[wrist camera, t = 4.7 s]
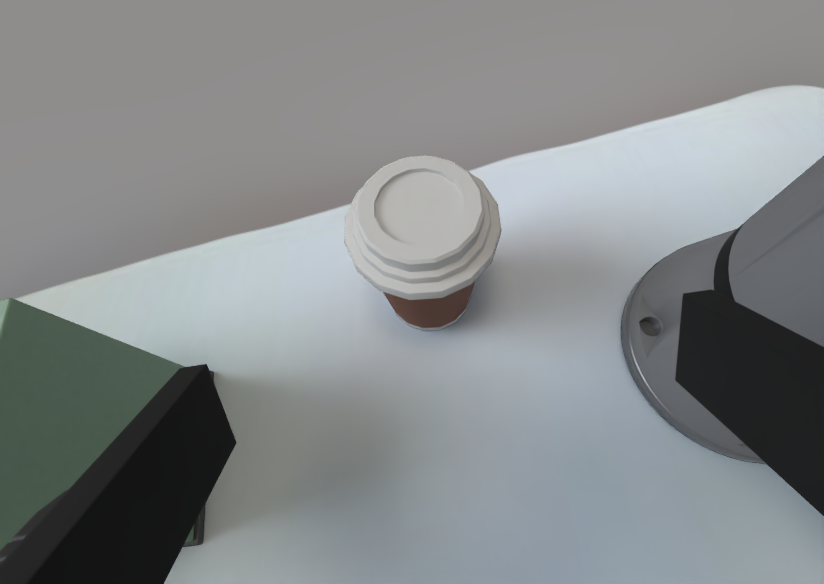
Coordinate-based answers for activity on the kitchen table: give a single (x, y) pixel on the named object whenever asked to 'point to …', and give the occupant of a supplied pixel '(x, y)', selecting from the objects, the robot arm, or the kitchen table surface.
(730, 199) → the kitchen table surface
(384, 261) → the coffee cup
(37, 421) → the toaster
